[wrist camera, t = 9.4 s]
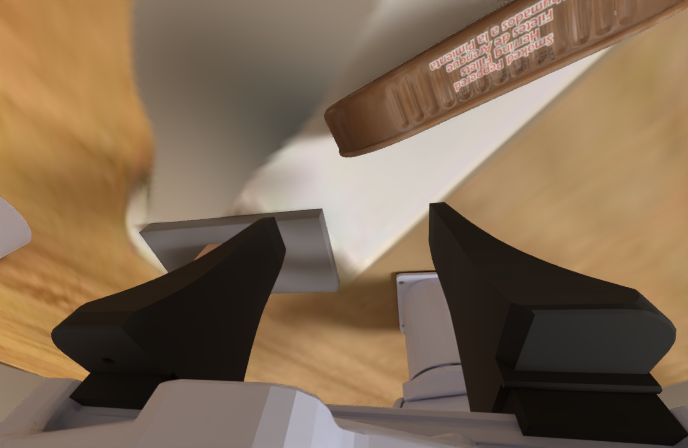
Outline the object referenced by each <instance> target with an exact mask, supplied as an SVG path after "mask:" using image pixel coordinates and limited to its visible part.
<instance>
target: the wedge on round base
mask: <svg viewBox="0 0 688 448" xmlns="http://www.w3.org/2000/svg"><path fill="white" fill-rule="evenodd" d="M31 238H32V234H31V230H30V228H29V226H28V224H27V222H26V221H25V219H24V218H23V217H22V216H21V214H20V213H19V212H18V211H17V210H16V209H15V208H14V207H13V206H12V205H11V204H9V203H8V202H7V201H6V200H5V199H3V198H2V197H1V196H0V259H1V258H3V257H4V256H6V255H8V254H10V253H12V252H14V251H16V250H17V249H19V248H21V247H23V246H25V245H27V244H28V243H29V242H30V241H31Z"/></svg>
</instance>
